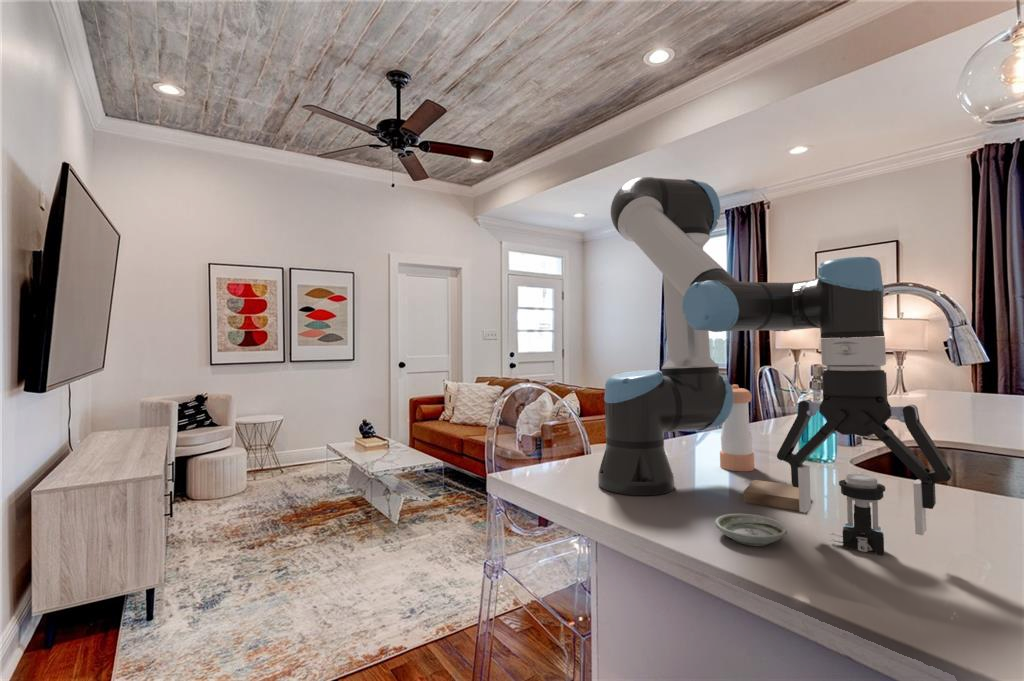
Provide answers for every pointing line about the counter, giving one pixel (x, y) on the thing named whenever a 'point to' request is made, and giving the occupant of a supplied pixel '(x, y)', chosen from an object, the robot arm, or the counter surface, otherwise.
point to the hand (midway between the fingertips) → (859, 520)
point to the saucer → (751, 528)
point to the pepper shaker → (737, 434)
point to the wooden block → (772, 494)
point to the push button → (862, 514)
